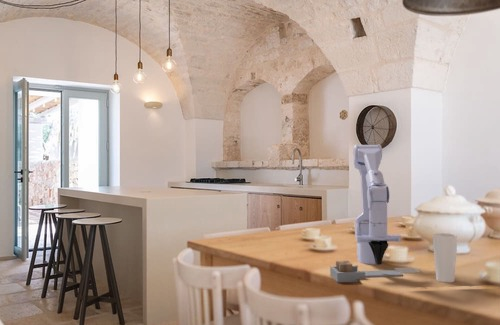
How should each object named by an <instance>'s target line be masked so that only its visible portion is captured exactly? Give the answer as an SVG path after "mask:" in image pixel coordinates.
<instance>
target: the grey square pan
mask: <svg viewBox="0 0 500 325" xmlns="http://www.w3.org/2000/svg"><path fill="white" fill-rule="evenodd" d="M329 273H330V274H329V276H330V277H331V278H332V279H334V281H335V282H336V283H359V282H360V283H361V281H360V279H361V280H362V279H363V280H365V279H366V278H387V277H389V278H390V277H391V278H392V277H403V276H404V273H400V272H399V271H397V270H395V269H386V270H385V269H383V270H382V269H381V270H358V265H352V272H339V271H338V270H337V269H336V265H333V266H331V265H330V267H329Z"/></svg>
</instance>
